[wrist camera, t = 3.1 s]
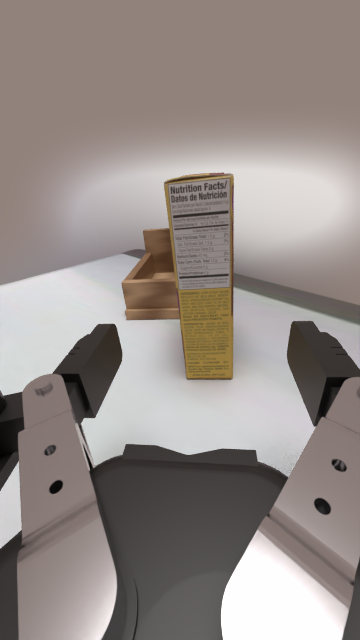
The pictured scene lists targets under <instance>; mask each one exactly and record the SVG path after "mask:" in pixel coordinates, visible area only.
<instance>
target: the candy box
mask: <svg viewBox="0 0 360 640" xmlns="http://www.w3.org/2000/svg"><path fill="white" fill-rule="evenodd" d="M233 181H234V178H233V174H224V173H206V174H193V175H186V176H181V177H178V178H173V179H169V180H167V181H165V182H164V189H165V196H166V204H167V212H168V220H169V229H170V238H171V246H172V256H173V265H174V273H175V282H176V291H177V300H178V308H179V316H180V325H181V334H182V342H183V350H184V358H185V367H186V376H187V379H232V378H233V191H234V190H233V189H234V183H233Z"/></svg>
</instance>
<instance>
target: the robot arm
mask: <svg viewBox="0 0 360 640" xmlns="http://www.w3.org/2000/svg"><path fill="white" fill-rule="evenodd" d="M287 360H288V364H289V367H290V369H291V372H292V374H293V377H294V379H295V381H296V384H297V386H298V389H299V391H300V394H301V396H302V399H303V401H304V403H305V406H306V408H307V411H308V413H309V416H310V418H311V421H312V423H313V425H314V426H316V428H315V430H314V432H313V434H312V436H311V438H310V439H309V441H308V443H307V445H306V447H305V449H304V450H303V452H302V454H301V456H300V458H299V460H298V461H297V463H296V465H295V467H294V469H293V471H292V472H291V474H290V476H289V478H288V477H287V476H286V475H284V474H283V473H281V472H280V471H278V470H276V469H275V468H273V467H271V466H268V465H266V464H264V463H261V462H258V461H257V455H256V450H240V449H218V450H213V451H208V452H203V453H198V454H193V455H185V454H182V453H178V452H175V451H172V450H169V449H166V448H163V447H159V446H155V445H134V444H126V446H125V449H124V452H123V455H120V456H116V457H113V458H111V459H108V460H106V461H104V462H102V463H101V464H99V465H97V466H96V467H95V465H94V462H93V459H92V456H91V453H90V449H89V446H88V443H87V440H86V437H85V434H84V431H83V428H82V425H81V423H82V421H83V419H84V418H95V417H96V415H97V413H98V411H99V408H100V406H101V404H102V402H103V400H104V398H105V396H106V394H107V392H108V390H109V387H110V385H111V383H112V381H113V379H114V377H115V375H116V373H117V371H118V369H119V366H120V364H121V362H122V349H121V344H120V340H119V336H118V332H117V328H116V325H115V324H98V325H97V326H96V327H95V329H94V330H93V331H92V332H91V334H87V335H86V336H85V337H83V338H82V339H80V340H79V341H78V342H77V343H76V344H75V346H74V347H73V349H71V351H70V352H69V353H68V355H67V356H66V357H65V358H64V359H63V361H62V362H61V363H60V364H59V366H58V367H57V368H56V369H55V371H54V372H53V373H52V374H48V375H44V376H41V377H38V378H36V379H35V380H33V381H31V382H30V383H29V384H28V385H27V386H26V387H25V388H24V390H23V392H19V393H14V394H10V395H5V396H3V395H2V393H1V391H0V491H1V489H2V487H3V486H4V484H5V482H6V481H7V479H8V477H9V476H10V474H11V473H12V471H13V469H14V468H15V466H16V464H17V463H18V461H19V473H20V497H21V521H22V530H21V531H20V532H19V533H18V534H17V535H16V536H14V537H13V538H12V539H11V540H10V541H9V542H8V543H6V544H5V545H4V546H3V547H2V548H1V549H0V640H360V369H359V368H358V367H357V365H356V364H355V363H354V361H353V360H352V359H351V357H350V356H348V354H347V352H346V351H345V350H344V349H343V347H342V346H341V344H340V343H339V342H338V340H337V339H336V338H334V337H332V336H331V335H329V334H328V333H326V332H320V331H319V330H318V328H317V327H316V325H315V324H314V322H313V321H293V322H292V324H291V330H290V336H289V343H288V349H287Z"/></svg>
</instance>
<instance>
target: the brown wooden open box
mask: <svg viewBox="0 0 360 640" xmlns="http://www.w3.org/2000/svg"><path fill="white" fill-rule="evenodd" d="M143 235H144V242H145V249H146V254H145V255H144V256H143V257H142V259H141V260H140V261H139V262H138V264H137V265H136V266H135V267H134V268H133V270H132V271H131V272H130V273H129V275H128V276H127V277H126V278H125V279H124V281H123V282H122V283H121V284H122V289H123V294H124V298H125V303H126V308H127V309H126V311H125V313H126V318H127V320H139V319H180V316H179V308H178V300H177V291H176V282H175V273H174V265H173V256H172V246H171V238H170V229H169V228H165V229H150V230H144V231H143Z"/></svg>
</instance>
